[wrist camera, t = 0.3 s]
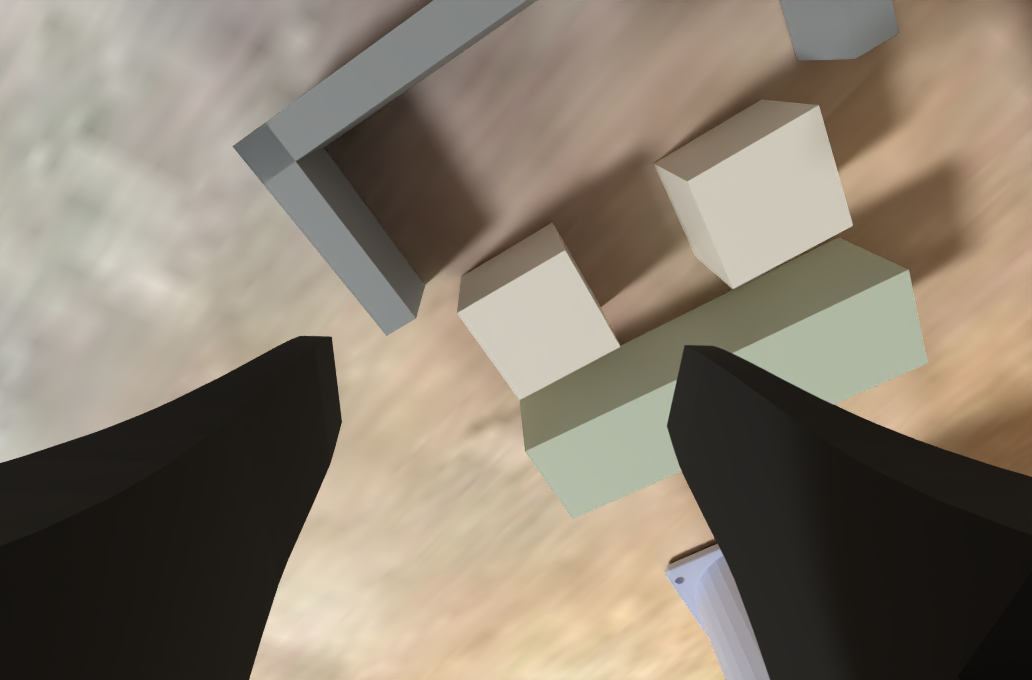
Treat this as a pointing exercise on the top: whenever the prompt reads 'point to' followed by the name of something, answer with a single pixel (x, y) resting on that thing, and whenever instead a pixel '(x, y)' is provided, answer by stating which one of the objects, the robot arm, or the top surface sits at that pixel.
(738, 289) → the sage green beam
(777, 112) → the block
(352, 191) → the grey frame
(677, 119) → the top surface
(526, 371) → the block
